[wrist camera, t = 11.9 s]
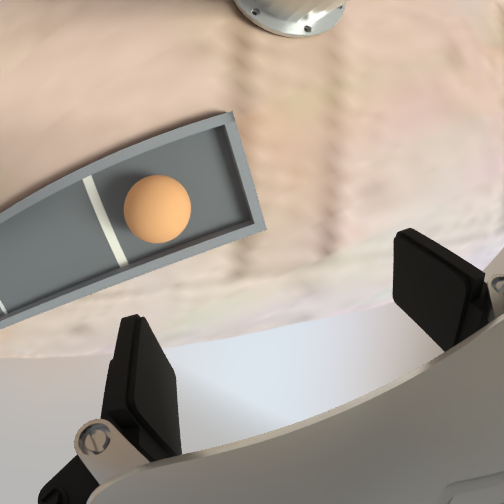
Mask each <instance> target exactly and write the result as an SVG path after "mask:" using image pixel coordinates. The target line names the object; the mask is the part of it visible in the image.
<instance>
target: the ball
mask: <svg viewBox="0 0 504 504" xmlns="http://www.w3.org/2000/svg"><path fill="white" fill-rule="evenodd" d="M190 214H191V202H190V198H189V196H188V193H187V191H186V190H185V188H184V187H183V186H182V185H181V184H180V183H179V182H178V181H177V180H175V179H173V178H171V177H169V176H165V175H151V176H148V177H145V178H143V179H141V180H140V181H138V182H137V183H136V184H134V185H133V187H132V188H131V189H130V191H129V192H128V194H127V196H126V199H125V203H124V217H125V221H126V223H127V225H128V227H129V229H130V230H131V231H132V233H133V234H134V235H135V236H137V237H138V238H139V239H141V240H143V241H146V242H149V243H164V242H167V241H170V240H172V239H174V238H176V237H177V236H178V235H179V234H180V233H181V232H182V231H183V230H184V229H185V227H186V226H187V224H188V221H189V218H190Z"/></svg>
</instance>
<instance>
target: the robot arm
mask: <svg viewBox="0 0 504 504" xmlns="http://www.w3.org/2000/svg"><path fill="white" fill-rule="evenodd" d="M233 1H234V2H235V4H236V5H237V7H238V9H239V10H240V11H241V12H242V13H243V14H244V15H245V16H246V17H247V18H248V19H249V20H250V21H252V22H253V23H254V24H256V25H257V26H259V27H261V28H263V29H264V30H267V31H269V32H272V33H274V34H277V35H281V36H285V37H292V38H308V37H313V36H317V35H320V34H322V33H324V32H326V31H328V30H329V29H331V28H332V27H334V26H335V25H336V24H337V23H338V22H339V20H340V19H341V17H342V15H343V13H344V9H345V3H346V2H348V1H349V0H233ZM252 13H255V14H256V15H254V14H252ZM304 30H306V32H305V31H304ZM484 277H485V273H483V272H482V271H481V270H479V269H478V268H476V267H475V266H473V265H472V264H470V263H469V262H467V261H465V260H464V259H462V258H461V257H459V256H458V255H456V254H454V253H453V252H451V251H450V250H448V249H446V248H445V247H443V246H441V245H440V244H438V243H436V242H435V241H433V240H431V239H430V238H428V237H426V236H425V235H423V234H421V233H419V232H418V231H416V230H414V229H412V228H408V229H405V230H402V231H399V232H398V233H397V234H396V237H395V238H394V264H393V299H394V301H395V303H396V304H397V305H398V306H399V307H400V308H401V309H402V310H403V311H404V312H405V313H406V314H408V316H409V317H410V318H412V319H413V320H414V321H415V322H416V323H417V324H418V325H419V326H420V327H421V328H422V329H423V330H424V331H425V332H426V333H427V334H428V335H429V336H430V337H431V338H432V339H433V340H434V341H435V342H436V343H437V344H438V345H439V346H440V347H441V348H442V349H443V351H444V353H443V354H441V355H439V356H438V357H436V358H434V359H433V360H431V361H429V362H428V363H426V364H424V365H422V366H421V367H419V368H417V369H415V370H413V371H412V372H410V373H408V374H406V375H404V376H402V377H400V378H399V379H397V380H395V381H393V382H391V383H389V384H387V385H385V386H383V387H381V388H379V389H377V390H375V391H372V392H370V393H368V394H366V395H364V396H362V397H359V398H357V399H355V400H353V401H351V402H348V403H346V404H344V405H341V406H339V407H336V408H334V409H332V410H329V411H327V412H324V413H322V414H319V415H316V416H314V417H311V418H309V419H306V420H303V421H301V422H298V423H295V424H292V425H289V426H286V427H283V428H280V429H277V430H274V431H271V432H268V433H264V434H261V435H258V436H255V437H251V438H248V439H244V440H240V441H237V442H233V443H230V444H225V445H222V446H218V447H214V448H210V449H205V450H201V451H197V452H192V453H187V454H183V455H182V450H181V439H180V428H179V417H178V402H177V387H176V376H175V373H174V370H173V368H172V366H171V365H170V363H169V361H168V359H167V358H166V356H165V354H164V352H163V350H162V348H161V347H160V345H159V343H158V341H157V339H156V337H155V335H154V334H153V332H152V330H151V328H150V326H149V324H148V322H147V320H146V318H145V317H140V316H139V315H138V314H135V315H131V316H128V317H124V318H122V319H121V323H120V327H119V332H118V337H117V342H116V347H115V352H114V357H113V359H112V360H111V361H110V364H109V369H108V374H107V380H106V386H105V392H104V398H103V405H102V412H101V419H95V420H92V421H89V422H87V423H86V424H84V425H83V426H82V427H81V428H80V429H79V431H78V432H77V434H76V436H75V440H74V448H75V450H76V453H77V455H76V456H75V457H74V458H73V459H72V460H71V461H70V462H69V463H68V464H67V465H66V466H65V467H64V468H63V469H62V470H60V471H59V473H57V474H56V475H55V476H54V477H53V478H52V479H51V480H50V481H49V482H48V483H47V484H46V485H45V486H44V487H43V488H42V489H41V491H40V493H39V496H38V504H504V274H496V275H493V276H491V277H490V278H489V279H488V281H487V283H485V282H484Z"/></svg>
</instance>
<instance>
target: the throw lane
mask: <svg viewBox="0 0 504 504" xmlns="http://www.w3.org/2000/svg"><path fill="white" fill-rule="evenodd" d="M151 175H165V176H169V177H171V178H173V179H175V180H177V181H178V182H179V183H180V184H181V185H182V186H183V187H184V188H185V190H186V191H187V193H188V196H189V198H190V202H191V214H190V218H189V221H188V224H187V226H186V227H185V229H184V230H183V231H182V232H181V233H180V234H179V235H178V236H177V237H176V238H174V239H172V240H170V241H167V242H164V243H149V242H146V241H143V240H141V239H139V238H138V237H137V236H135V235H134V234H133V233H132V231H131V230H130V229H129V227H128V225H127V223H126V221H125V217H124V203H125V199H126V196H127V194H128V192H129V191H130V189H131V188H132V187H133V185H134V184H136V183H137V182H138V181H140V180H141V179H143V178H145V177H148V176H151ZM264 230H267V229H266V225H265V221H264V218H263V214H262V211H261V207H260V204H259V200H258V197H257V193H256V190H255V186H254V183H253V179H252V176H251V173H250V169H249V166H248V162H247V159H246V155H245V152H244V149H243V145H242V142H241V138H240V135H239V132H238V128H237V125H236V122H235V118H234V115H233V112H232V111H231V112H228V113H224V114H221V115H217V116H214V117H211V118H208V119H204V120H201V121H198V122H195V123H192V124H189V125H186V126H183V127H180V128H177V129H174V130H172V131H169V132H166V133H163V134H161V135H158V136H155V137H153V138H150V139H147V140H145V141H142V142H140V143H137V144H135V145H132V146H130V147H127V148H125V149H123V150H120V151H118V152H116V153H113V154H111V155H109V156H106V157H104V158H102V159H100V160H98V161H95V162H93V163H91V164H89V165H87V166H85V167H83V168H81V169H78V170H76V171H74V172H72V173H70V174H68V175H66V176H64V177H63V178H61V179H59V180H57V181H55V182H53V183H51V184H49V185H47V186H46V187H44V188H42V189H40V190H38V191H36V192H35V193H33V194H31V195H29V196H28V197H26V198H24V199H23V200H21V201H19V202H18V203H16V204H14V205H13V206H11V207H9V208H8V209H6V210H5V211H3V212H1V213H0V329H3V328H5V327H8V326H10V325H13V324H15V323H18V322H20V321H23V320H25V319H28V318H30V317H33V316H35V315H38V314H40V313H43V312H46V311H48V310H51V309H53V308H56V307H58V306H61V305H64V304H66V303H69V302H71V301H74V300H77V299H79V298H82V297H84V296H87V295H90V294H92V293H95V292H97V291H100V290H103V289H105V288H108V287H111V286H113V285H116V284H119V283H121V282H124V281H127V280H129V279H132V278H135V277H137V276H140V275H143V274H145V273H148V272H151V271H153V270H156V269H159V268H162V267H164V266H167V265H170V264H172V263H175V262H178V261H181V260H183V259H186V258H189V257H192V256H194V255H197V254H200V253H203V252H205V251H208V250H211V249H214V248H216V247H219V246H222V245H225V244H228V243H230V242H233V241H236V240H239V239H242V238H244V237H247V236H250V235H253V234H256V233H258V232H261V231H264Z"/></svg>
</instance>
